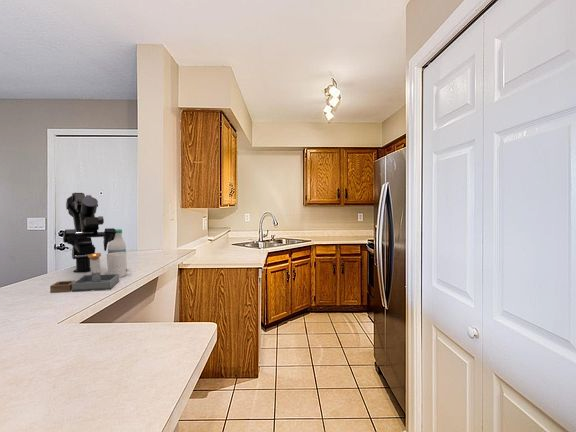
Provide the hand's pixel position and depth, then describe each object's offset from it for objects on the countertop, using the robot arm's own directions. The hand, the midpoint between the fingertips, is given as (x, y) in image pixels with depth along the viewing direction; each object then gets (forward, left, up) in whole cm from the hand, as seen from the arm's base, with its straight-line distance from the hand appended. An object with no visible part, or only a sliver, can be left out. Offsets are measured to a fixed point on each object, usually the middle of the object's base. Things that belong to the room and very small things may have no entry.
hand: (92, 251), depth 135 cm
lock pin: (+5, +3, -12) cm, 14 cm away
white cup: (-10, +6, -13) cm, 18 cm away
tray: (+6, +3, -13) cm, 14 cm away
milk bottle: (-19, +4, -13) cm, 24 cm away
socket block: (+9, -8, -13) cm, 17 cm away
